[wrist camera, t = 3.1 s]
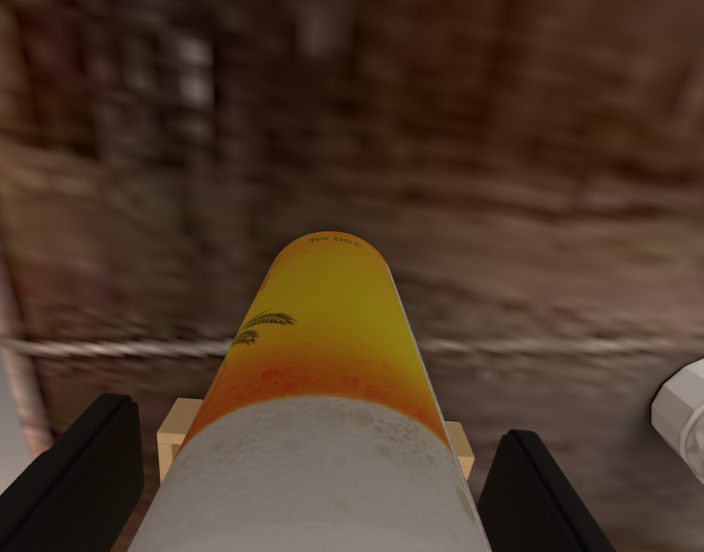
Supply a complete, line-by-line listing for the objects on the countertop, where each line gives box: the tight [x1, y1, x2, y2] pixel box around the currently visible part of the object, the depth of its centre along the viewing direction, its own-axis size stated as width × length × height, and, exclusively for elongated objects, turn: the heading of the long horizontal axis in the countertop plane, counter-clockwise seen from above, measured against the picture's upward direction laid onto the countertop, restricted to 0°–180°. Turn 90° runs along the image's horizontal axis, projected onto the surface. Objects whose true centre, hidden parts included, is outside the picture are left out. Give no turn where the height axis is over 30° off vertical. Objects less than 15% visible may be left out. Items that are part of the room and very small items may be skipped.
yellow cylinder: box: [127, 231, 492, 552], centre depth 11 cm, size 6×6×15 cm
